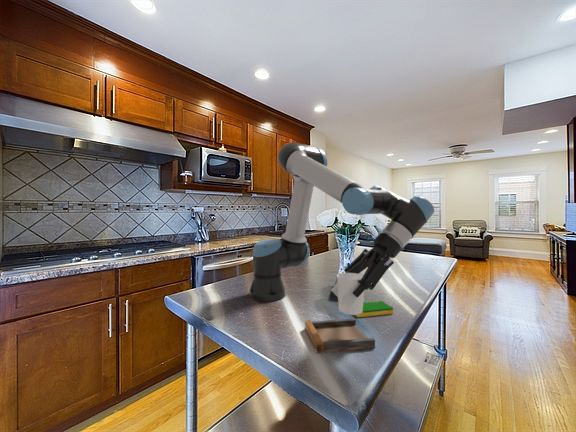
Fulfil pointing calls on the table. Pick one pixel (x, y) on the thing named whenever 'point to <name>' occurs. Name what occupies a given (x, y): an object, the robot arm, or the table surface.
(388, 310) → the dish sponge
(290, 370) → the table surface
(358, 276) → the white cup
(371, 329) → the table surface
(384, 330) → the table surface
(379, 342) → the table surface
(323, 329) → the wooden tray
